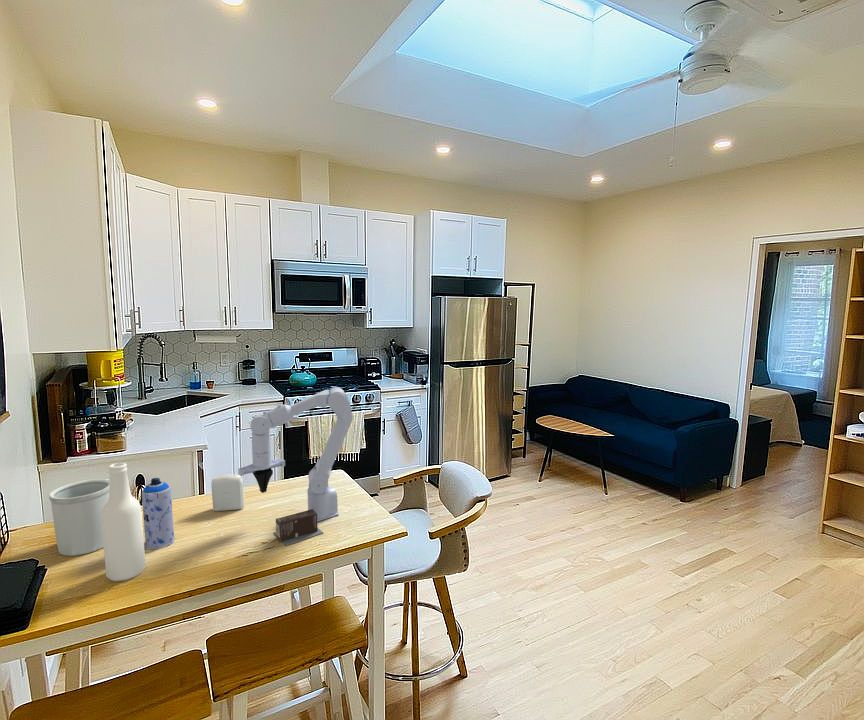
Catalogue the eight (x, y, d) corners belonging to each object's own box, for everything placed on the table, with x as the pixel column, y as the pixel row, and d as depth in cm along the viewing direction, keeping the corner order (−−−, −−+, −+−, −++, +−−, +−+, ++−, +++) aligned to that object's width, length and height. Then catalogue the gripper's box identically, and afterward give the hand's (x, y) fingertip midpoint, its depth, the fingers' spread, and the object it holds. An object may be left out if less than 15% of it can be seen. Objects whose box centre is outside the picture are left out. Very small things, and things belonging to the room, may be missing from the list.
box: (279, 524, 139) (317, 513, 146) (274, 518, 142) (312, 507, 150) (280, 543, 140) (318, 531, 147) (275, 537, 143) (312, 525, 150)
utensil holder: (43, 551, 135) (36, 493, 133) (96, 528, 149) (91, 475, 146) (76, 561, 130) (70, 502, 127) (128, 537, 143) (123, 482, 141)
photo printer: (211, 512, 160) (209, 477, 159) (214, 506, 164) (213, 473, 163) (242, 510, 162) (240, 476, 160) (245, 505, 166) (243, 471, 164)
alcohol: (106, 570, 126) (96, 463, 122) (144, 560, 131) (136, 457, 127) (106, 586, 118) (96, 473, 115) (147, 575, 123) (138, 466, 120)
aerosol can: (141, 542, 140) (136, 478, 137) (170, 533, 146) (165, 472, 143) (149, 552, 135) (144, 486, 132) (178, 542, 140) (174, 478, 138)
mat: (309, 521, 154) (309, 520, 154) (323, 533, 146) (323, 532, 146) (273, 533, 146) (273, 532, 146) (286, 546, 138) (286, 545, 138)
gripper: (278, 444, 158) (279, 482, 160) (234, 452, 149) (236, 493, 150) (287, 449, 153) (288, 488, 155) (241, 458, 143) (243, 500, 145)
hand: (263, 491), depth 152 cm, fingers closed
